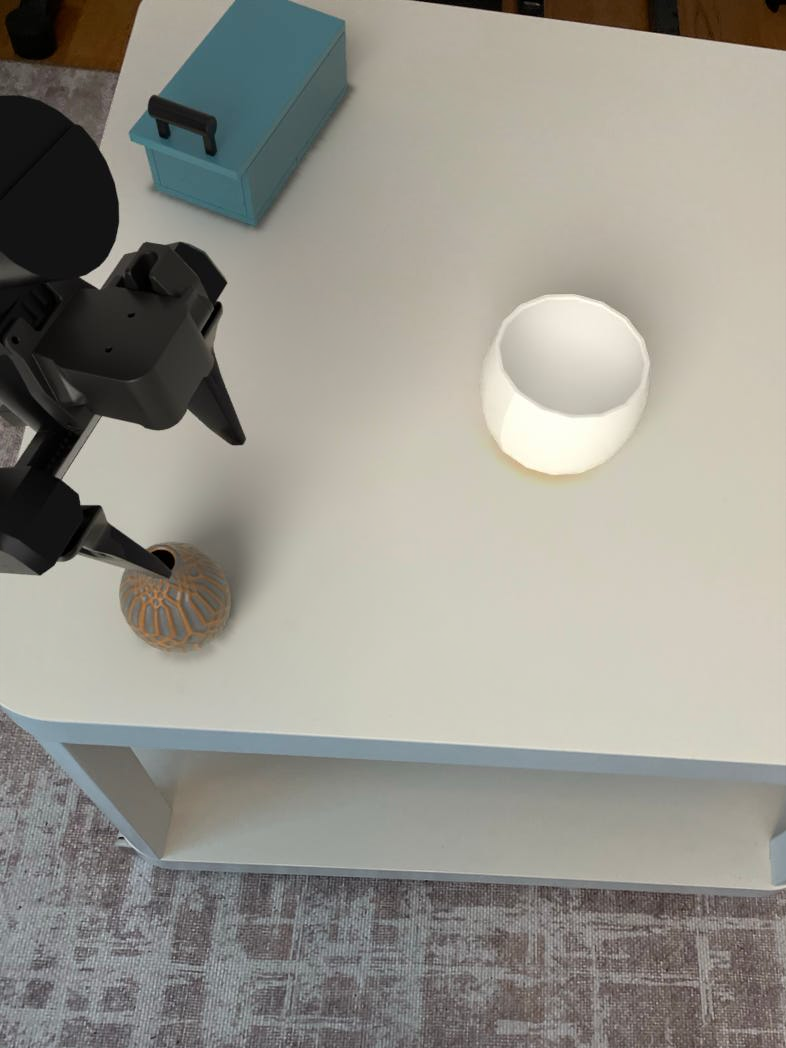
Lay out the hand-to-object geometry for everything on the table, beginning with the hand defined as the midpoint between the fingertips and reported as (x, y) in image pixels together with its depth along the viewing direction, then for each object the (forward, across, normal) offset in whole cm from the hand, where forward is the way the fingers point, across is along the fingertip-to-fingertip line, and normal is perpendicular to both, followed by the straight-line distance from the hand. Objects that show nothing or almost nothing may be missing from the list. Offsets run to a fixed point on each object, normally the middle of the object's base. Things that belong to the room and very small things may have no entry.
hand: (204, 507), depth 50 cm
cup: (+21, +23, -5) cm, 32 cm away
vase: (+11, -2, +11) cm, 15 cm away
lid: (-2, +43, +21) cm, 48 cm away
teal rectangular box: (+3, +44, +24) cm, 50 cm away
